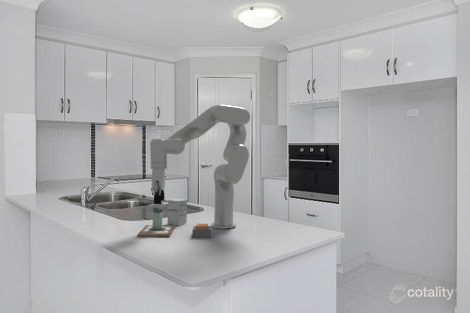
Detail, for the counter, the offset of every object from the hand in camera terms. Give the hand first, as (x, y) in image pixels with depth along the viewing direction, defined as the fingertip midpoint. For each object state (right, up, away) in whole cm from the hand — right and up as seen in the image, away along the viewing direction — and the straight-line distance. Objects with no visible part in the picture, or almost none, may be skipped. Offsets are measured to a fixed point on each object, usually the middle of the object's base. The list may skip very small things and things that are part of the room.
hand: (159, 202), depth 169 cm
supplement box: (+5, -14, +19) cm, 24 cm away
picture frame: (-1, -14, 0) cm, 14 cm away
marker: (-1, -13, 0) cm, 13 cm away
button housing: (+20, -14, -5) cm, 25 cm away
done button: (+20, -12, -5) cm, 24 cm away
